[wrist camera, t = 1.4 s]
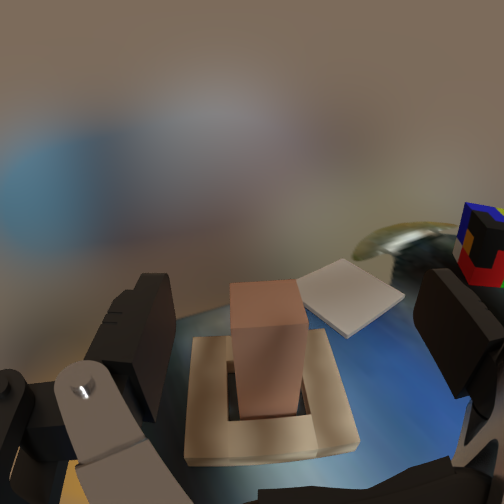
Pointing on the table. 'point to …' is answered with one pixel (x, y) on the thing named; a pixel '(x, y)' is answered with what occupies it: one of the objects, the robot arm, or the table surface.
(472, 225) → the puzzle toy
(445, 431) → the table surface
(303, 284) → the grey pad
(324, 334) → the puzzle board
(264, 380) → the terracotta block
